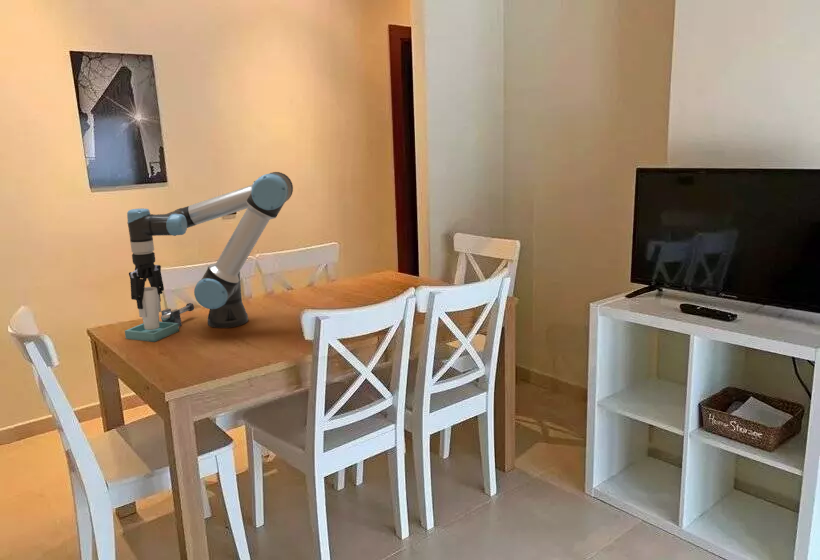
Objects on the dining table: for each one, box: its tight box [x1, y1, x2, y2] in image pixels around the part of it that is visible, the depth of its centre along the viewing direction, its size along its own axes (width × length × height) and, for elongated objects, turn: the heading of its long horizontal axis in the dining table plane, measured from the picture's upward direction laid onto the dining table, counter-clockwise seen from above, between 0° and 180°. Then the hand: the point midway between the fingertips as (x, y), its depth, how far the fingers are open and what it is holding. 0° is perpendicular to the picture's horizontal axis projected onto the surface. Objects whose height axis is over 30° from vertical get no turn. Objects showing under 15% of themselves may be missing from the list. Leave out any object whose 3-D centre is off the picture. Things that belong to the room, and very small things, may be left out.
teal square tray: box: [124, 320, 180, 343], centre depth 235 cm, size 13×13×3 cm
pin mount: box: [160, 307, 182, 328], centre depth 244 cm, size 6×4×6 cm, turn 70°
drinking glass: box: [139, 286, 160, 330], centre depth 233 cm, size 7×7×15 cm
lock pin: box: [160, 302, 195, 321], centre depth 247 cm, size 3×16×3 cm, turn 160°
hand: (150, 314), depth 234 cm, fingers closed on drinking glass, 7 cm apart
